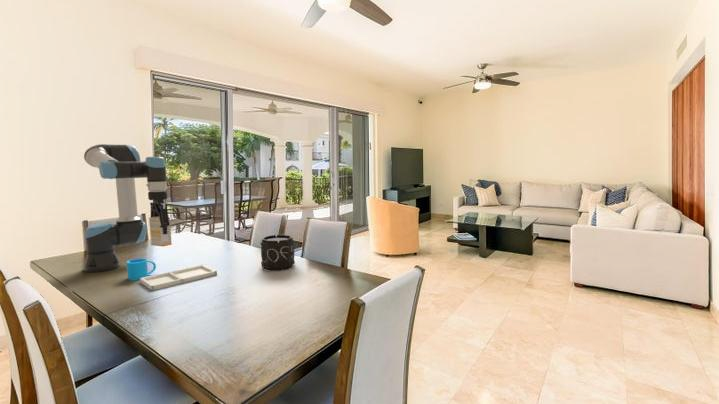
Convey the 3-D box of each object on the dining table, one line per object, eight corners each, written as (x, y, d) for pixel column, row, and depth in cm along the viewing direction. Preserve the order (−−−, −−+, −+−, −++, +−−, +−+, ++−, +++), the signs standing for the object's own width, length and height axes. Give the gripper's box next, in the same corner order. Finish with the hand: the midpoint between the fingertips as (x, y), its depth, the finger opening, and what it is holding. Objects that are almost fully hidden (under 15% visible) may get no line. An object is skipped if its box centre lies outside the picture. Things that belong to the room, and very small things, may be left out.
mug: (129, 281, 164) (128, 264, 163) (126, 277, 170) (125, 260, 169) (158, 275, 172) (157, 259, 171) (154, 271, 178) (153, 256, 177)
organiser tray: (140, 282, 162) (139, 278, 162) (203, 268, 184) (202, 264, 183) (151, 290, 152) (151, 286, 151) (217, 274, 173) (216, 270, 173)
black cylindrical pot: (284, 273, 175) (283, 242, 173) (254, 269, 181) (253, 240, 179) (301, 263, 192) (301, 235, 190) (273, 260, 198) (272, 233, 196)
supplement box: (172, 244, 162) (170, 216, 161) (162, 246, 158) (160, 218, 156) (160, 243, 166) (158, 215, 164) (150, 245, 161) (148, 217, 160)
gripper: (140, 190, 163) (143, 237, 166) (157, 192, 149) (160, 244, 151) (157, 189, 169) (161, 235, 171) (175, 191, 155) (179, 241, 157)
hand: (160, 239), depth 161 cm, fingers closed on supplement box, 9 cm apart
